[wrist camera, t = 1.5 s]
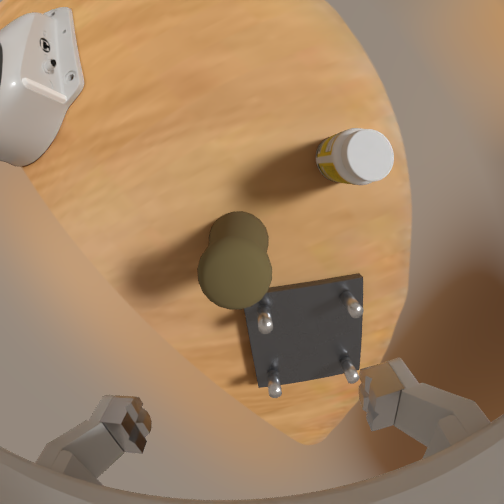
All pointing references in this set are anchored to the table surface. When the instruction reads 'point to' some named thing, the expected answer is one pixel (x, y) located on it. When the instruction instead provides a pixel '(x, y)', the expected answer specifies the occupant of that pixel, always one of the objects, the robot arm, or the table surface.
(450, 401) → the robot arm
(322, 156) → the supplement bottle
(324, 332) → the standoff chassis
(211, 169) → the table surface
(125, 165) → the table surface
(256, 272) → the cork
